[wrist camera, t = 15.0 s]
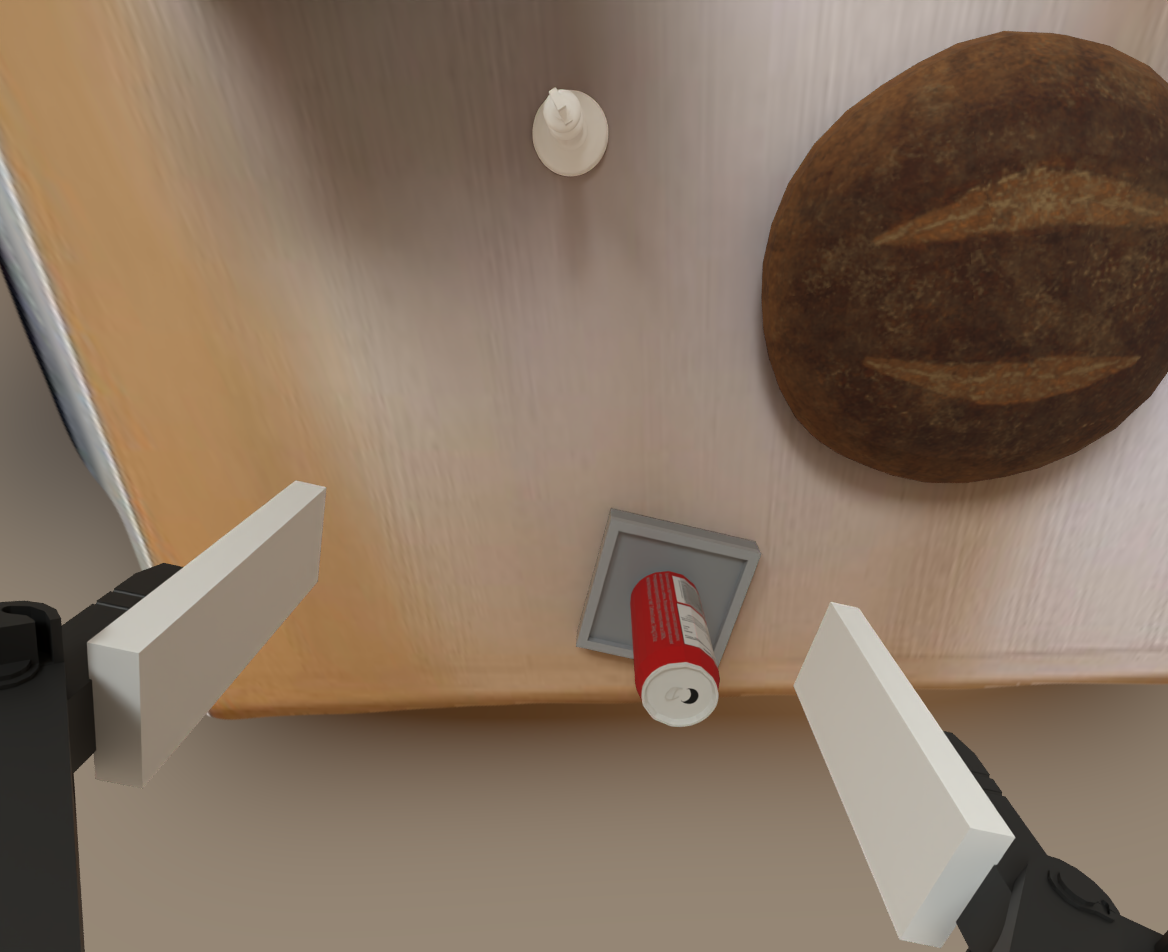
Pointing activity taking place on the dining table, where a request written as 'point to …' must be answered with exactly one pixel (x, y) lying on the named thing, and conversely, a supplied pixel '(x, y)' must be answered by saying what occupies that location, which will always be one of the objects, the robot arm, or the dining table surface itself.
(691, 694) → the soda can
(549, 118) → the chess piece
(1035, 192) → the bread
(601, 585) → the tray
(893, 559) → the dining table surface
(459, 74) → the dining table surface
